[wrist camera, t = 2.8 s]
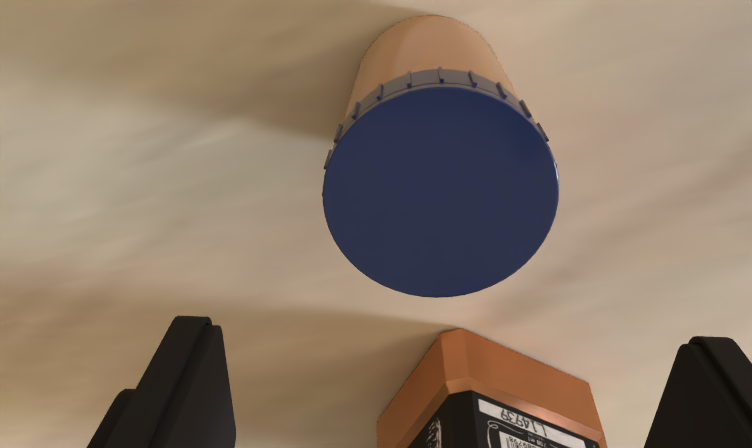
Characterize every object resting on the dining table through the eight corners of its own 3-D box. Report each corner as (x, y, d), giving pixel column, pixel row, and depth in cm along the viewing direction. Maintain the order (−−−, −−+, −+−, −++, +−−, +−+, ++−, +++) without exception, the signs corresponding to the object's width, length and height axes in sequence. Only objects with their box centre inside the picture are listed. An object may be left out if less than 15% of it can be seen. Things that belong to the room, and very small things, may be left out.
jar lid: (573, 81, 17) (592, 101, 15) (519, 277, 20) (529, 311, 19) (336, 53, 17) (328, 70, 15) (322, 254, 20) (314, 286, 19)
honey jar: (516, 25, 25) (580, 100, 16) (485, 166, 28) (523, 297, 19) (362, 6, 25) (335, 71, 16) (350, 150, 28) (320, 274, 19)
